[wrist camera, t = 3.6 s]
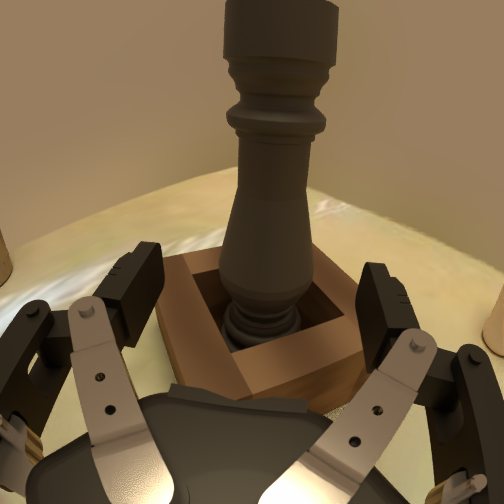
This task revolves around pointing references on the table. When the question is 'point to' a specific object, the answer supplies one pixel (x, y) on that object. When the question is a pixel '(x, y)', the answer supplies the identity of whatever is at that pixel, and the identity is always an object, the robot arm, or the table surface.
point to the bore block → (270, 353)
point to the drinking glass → (496, 326)
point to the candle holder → (272, 160)
